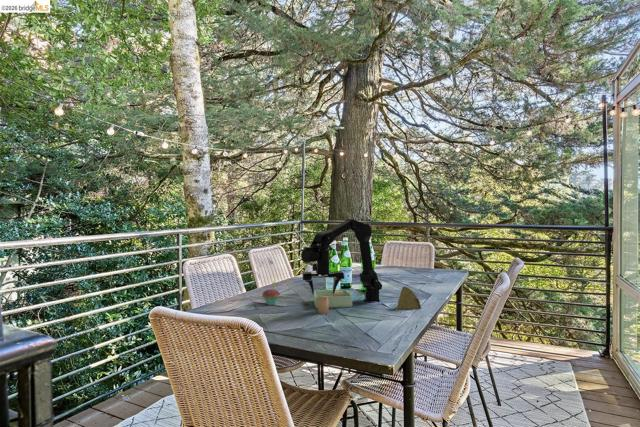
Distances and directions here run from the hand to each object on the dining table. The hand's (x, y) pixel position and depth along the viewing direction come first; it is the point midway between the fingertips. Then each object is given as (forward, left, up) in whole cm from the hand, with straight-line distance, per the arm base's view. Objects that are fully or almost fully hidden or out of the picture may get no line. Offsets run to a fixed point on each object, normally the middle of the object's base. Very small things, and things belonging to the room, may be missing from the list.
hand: (323, 294), depth 186 cm
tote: (-6, -14, -8) cm, 17 cm away
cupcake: (+24, -18, -8) cm, 31 cm away
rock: (-41, -1, -9) cm, 42 cm away
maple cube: (-9, -14, -8) cm, 18 cm away
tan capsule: (0, 0, -8) cm, 8 cm away
